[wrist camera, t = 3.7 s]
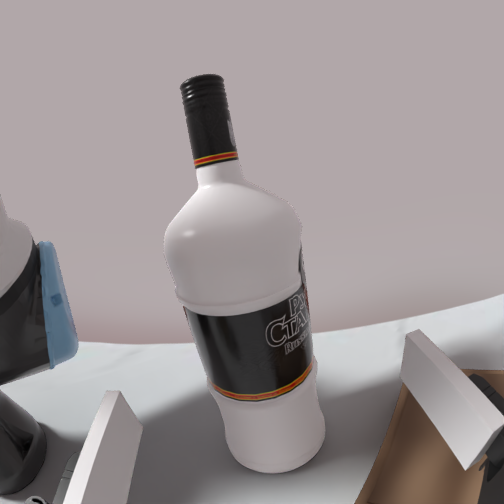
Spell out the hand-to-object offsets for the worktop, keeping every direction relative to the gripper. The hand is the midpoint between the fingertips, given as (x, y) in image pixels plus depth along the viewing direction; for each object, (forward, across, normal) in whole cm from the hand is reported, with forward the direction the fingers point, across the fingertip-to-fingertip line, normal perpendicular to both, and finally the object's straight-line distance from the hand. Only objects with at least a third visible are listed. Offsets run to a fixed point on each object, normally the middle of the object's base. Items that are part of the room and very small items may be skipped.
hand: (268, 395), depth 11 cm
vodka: (+8, 0, -15) cm, 17 cm away
